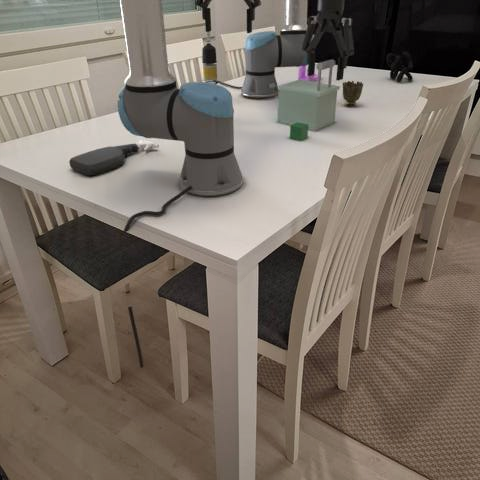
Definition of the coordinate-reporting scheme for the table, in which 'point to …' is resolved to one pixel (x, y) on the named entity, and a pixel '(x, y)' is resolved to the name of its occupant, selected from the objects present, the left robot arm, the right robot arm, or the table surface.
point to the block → (299, 131)
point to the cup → (352, 92)
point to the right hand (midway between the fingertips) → (325, 77)
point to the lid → (313, 83)
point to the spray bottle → (106, 157)
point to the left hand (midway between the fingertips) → (228, 32)
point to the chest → (306, 109)
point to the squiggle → (399, 66)
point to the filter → (209, 61)
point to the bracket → (308, 78)
